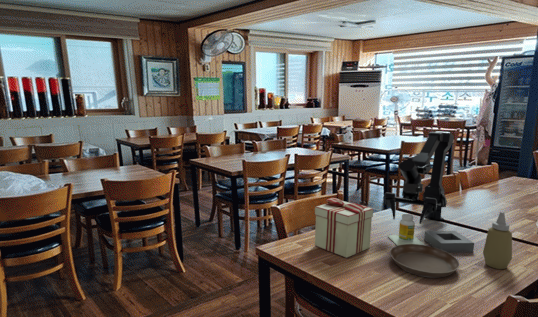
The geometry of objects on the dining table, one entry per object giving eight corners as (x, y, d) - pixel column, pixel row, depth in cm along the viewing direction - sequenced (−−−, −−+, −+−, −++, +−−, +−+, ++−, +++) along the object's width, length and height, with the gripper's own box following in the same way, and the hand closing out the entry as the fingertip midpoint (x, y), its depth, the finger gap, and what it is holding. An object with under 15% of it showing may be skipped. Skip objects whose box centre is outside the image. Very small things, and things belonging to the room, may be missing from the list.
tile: (387, 236, 142) (387, 235, 142) (412, 236, 143) (412, 234, 143) (398, 246, 133) (398, 245, 132) (424, 246, 133) (424, 244, 133)
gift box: (376, 244, 134) (378, 199, 132) (350, 260, 121) (352, 210, 118) (336, 233, 146) (338, 191, 143) (309, 246, 132) (310, 200, 130)
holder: (424, 239, 140) (424, 230, 139) (454, 239, 140) (455, 230, 140) (440, 252, 128) (441, 243, 127) (473, 252, 129) (474, 242, 128)
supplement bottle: (404, 236, 142) (406, 212, 140) (416, 240, 137) (418, 216, 136) (395, 238, 139) (397, 214, 137) (407, 243, 134) (409, 218, 133)
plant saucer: (468, 285, 106) (469, 274, 106) (394, 278, 110) (395, 267, 109) (447, 255, 126) (448, 246, 126) (385, 250, 130) (386, 241, 129)
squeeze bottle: (506, 262, 121) (513, 210, 118) (514, 273, 113) (521, 217, 110) (479, 258, 123) (485, 207, 121) (484, 269, 116) (490, 214, 113)
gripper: (386, 172, 142) (379, 206, 134) (438, 177, 133) (434, 214, 125) (388, 187, 150) (381, 221, 142) (438, 193, 141) (433, 229, 133)
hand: (406, 221), depth 135 cm, fingers open, 9 cm apart
